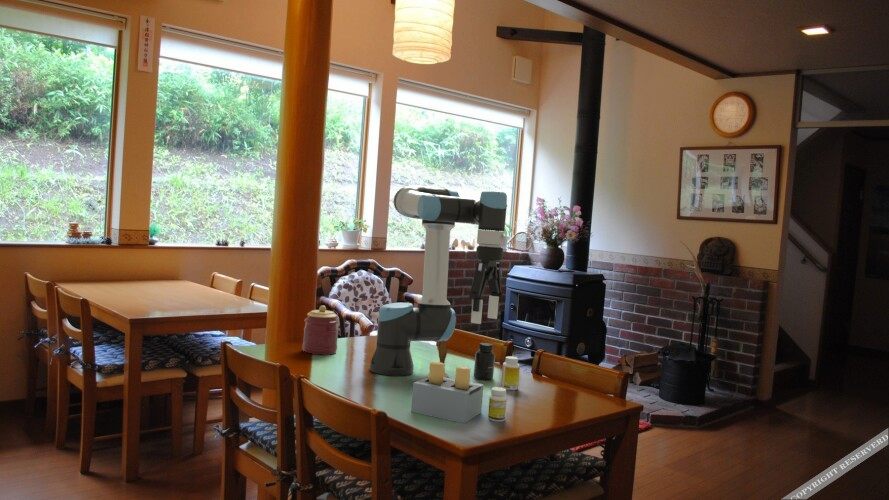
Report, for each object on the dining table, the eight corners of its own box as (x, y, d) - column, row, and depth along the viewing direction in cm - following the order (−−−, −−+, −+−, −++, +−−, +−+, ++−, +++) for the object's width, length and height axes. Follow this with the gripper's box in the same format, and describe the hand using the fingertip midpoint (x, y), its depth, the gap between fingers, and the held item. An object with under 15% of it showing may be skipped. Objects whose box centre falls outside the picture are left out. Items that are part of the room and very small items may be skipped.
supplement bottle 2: (490, 415, 182) (492, 385, 181) (506, 418, 180) (509, 388, 180) (486, 420, 177) (488, 389, 177) (503, 423, 176) (505, 392, 175)
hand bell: (434, 395, 198) (438, 343, 197) (422, 388, 205) (426, 338, 205) (458, 394, 202) (462, 343, 201) (446, 387, 209) (449, 338, 208)
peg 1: (425, 390, 182) (427, 363, 182) (431, 387, 186) (433, 361, 185) (438, 392, 180) (440, 365, 180) (444, 389, 184) (446, 363, 184)
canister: (309, 346, 256) (312, 302, 255) (341, 350, 254) (344, 305, 253) (297, 353, 243) (300, 305, 242) (330, 356, 241) (334, 309, 240)
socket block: (411, 411, 180) (413, 382, 179) (430, 402, 190) (432, 375, 190) (464, 423, 173) (466, 393, 172) (481, 412, 184) (483, 384, 183)
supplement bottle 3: (521, 390, 213) (523, 359, 212) (506, 391, 210) (509, 359, 210) (512, 385, 218) (514, 355, 217) (497, 386, 215) (500, 355, 215)
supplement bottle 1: (491, 381, 221) (494, 346, 221) (471, 379, 223) (474, 344, 222) (494, 377, 228) (497, 343, 227) (475, 375, 229) (477, 341, 229)
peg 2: (451, 395, 179) (453, 368, 178) (457, 392, 182) (459, 365, 182) (465, 398, 177) (467, 370, 177) (470, 395, 181) (472, 368, 180)
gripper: (487, 246, 172) (481, 327, 172) (515, 247, 195) (510, 318, 195) (461, 244, 175) (455, 323, 175) (492, 245, 197) (486, 314, 198)
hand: (484, 320), depth 185 cm, fingers open, 13 cm apart
